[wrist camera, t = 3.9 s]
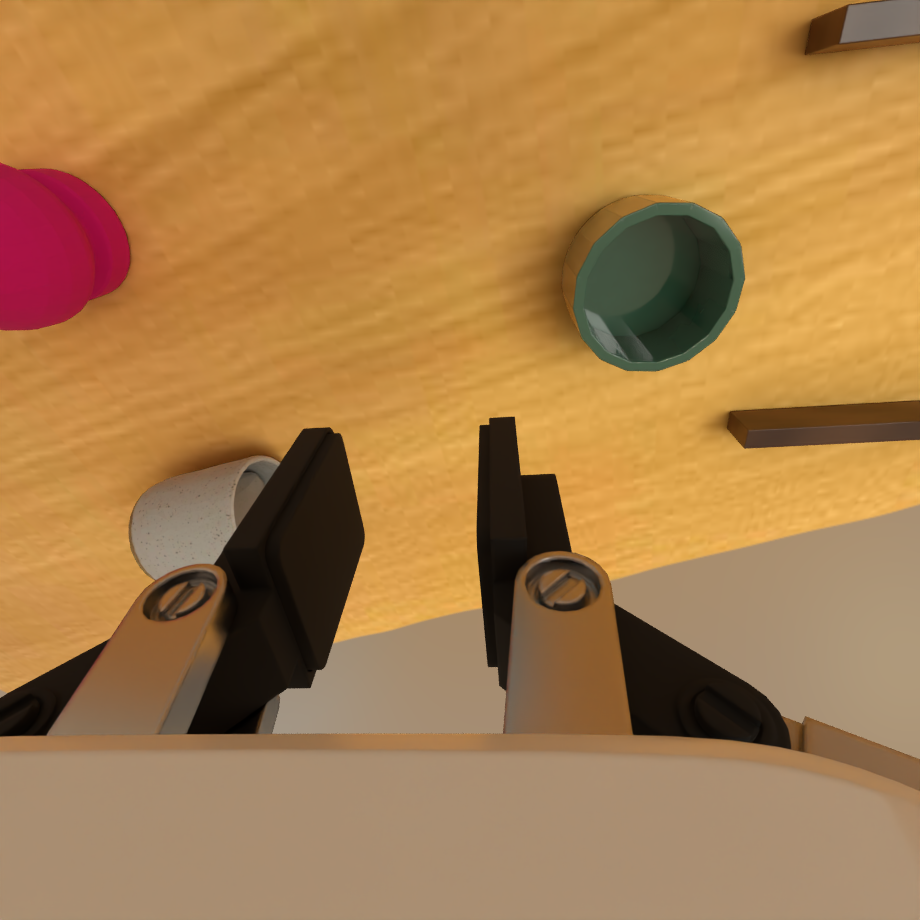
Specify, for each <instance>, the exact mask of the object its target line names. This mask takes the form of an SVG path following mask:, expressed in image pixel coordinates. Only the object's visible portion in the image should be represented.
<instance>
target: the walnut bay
mask: <svg viewBox="0 0 920 920" xmlns="http://www.w3.org/2000/svg"><path fill="white" fill-rule="evenodd" d="M917 42H920V0H881V1H873V2H864V3H856V4H848V5H846V6H844V7H841V8H839V9H836V10H834V11H831V12H829V13H827V14H824V15H822V16H819V17H817V18H814V19H813V20H812V23H811V28H810V33H809V37H808V42H807V47H806V52H805V55H811V54H820V53H829V52H838V51H846V50H855V49H864V48H873V47H882V46H891V45H899V44H908V43H917ZM727 429H728V430H729V431H730V433H731V434H732V435H733V436H734V437H735V438H736V440H737V441H738V442H739V443H740V444H741V445H742V446H743V448H765V447H784V446H804V445H824V444H844V443H864V442H883V441H903V440H920V401H905V402H888V403H870V404H852V405H835V406H817V407H799V408H782V409H764V410H746V411H731V412H730V416H729V421H728V426H727Z"/></svg>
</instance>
